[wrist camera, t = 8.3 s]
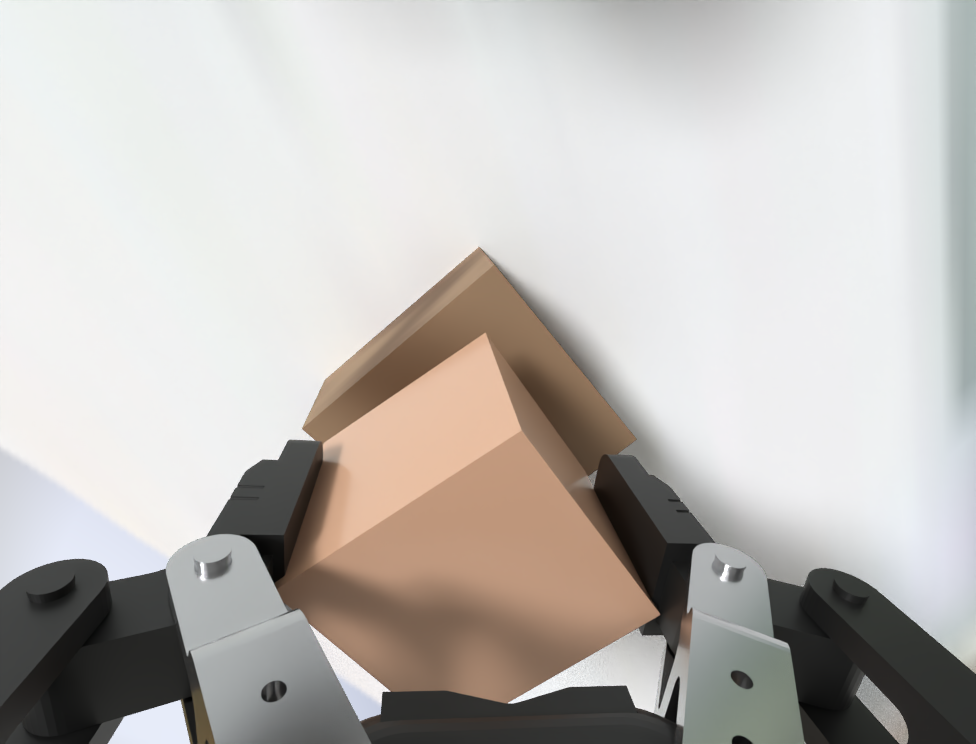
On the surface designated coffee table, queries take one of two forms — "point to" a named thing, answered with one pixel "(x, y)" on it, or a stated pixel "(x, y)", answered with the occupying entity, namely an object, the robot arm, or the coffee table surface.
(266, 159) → the coffee table surface
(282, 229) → the coffee table surface
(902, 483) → the coffee table surface
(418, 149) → the coffee table surface
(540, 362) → the walnut box
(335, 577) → the terracotta cube
